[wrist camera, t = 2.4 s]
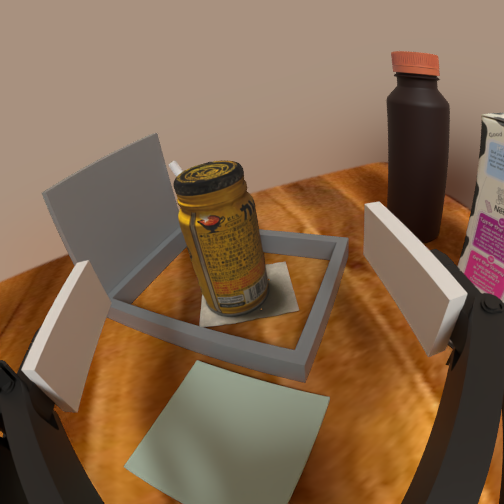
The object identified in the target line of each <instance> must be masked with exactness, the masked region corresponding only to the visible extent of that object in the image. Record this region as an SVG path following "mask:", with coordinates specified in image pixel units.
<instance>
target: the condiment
mask: <svg viewBox="0 0 504 504" xmlns="http://www.w3.org/2000/svg"><path fill="white" fill-rule="evenodd" d="M174 189H175V192H176V194H177V197H178V199H177V201H178V205H179V206H180V207H181V208H180V211H179V213H178V220H179V224H180V228H181V231H182V233H183V236H184V239H185V242H186V245H187V249H188V251H189V254H190V258H191V261H192V264H193V268H194V270H195V273H196V275H197V279H198V282H199V285H200V287H201V292H202V304H201V313H200V327H209V326H218V325H224V324H233V323H238V322H244V321H248V320H253V319H256V318H264V317H269V316H277V315H281V314H284V313H287V312H294V311H299V308H298V305H297V301H296V297H295V294H294V291H293V287H292V283H291V280H290V276H289V273H288V269H287V265H286V262H281V263H274V264H270V265H269V264H268V265H265V259H264V253H263V248H262V243H261V236H260V232H259V226H258V220H257V214H256V209H255V203H254V200H253V197H252V196H251V195H250V194H249V193H248V192H247V191H246V190H247V184H246V181H245V180H244V171H243V168H242V166H241V165H240V164H239V163H237V162H234V161H214V162H208V163H204V164H201V165H198V166H194V167H192V168H190V169H187V170H185V171H183V172H182V173H180V174H179V175H178V176H177V177H176V179H175V181H174ZM268 279H270V280H268ZM261 309H262V310H261Z"/></svg>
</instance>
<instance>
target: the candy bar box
mask: <svg viewBox="0 0 504 504" xmlns="http://www.w3.org/2000/svg"><path fill="white" fill-rule="evenodd" d="M481 117H482V129H481V146H480V154H479V163H478V171H477V181H476V187H475V194H474V198H473V204H472V209H471V214H470V219H469V223H468V228H467V232H466V237H465V242H464V245H463V249H462V252H461V256H460V260H459V263H458V268H459V269H460V271H462V272H463V273H464V274H465V275H466V276H467V278H468V279H469V280H470V281H471V282H472V283H473V284H474V285H475V287H476V288H477V289H478V290H479V291H480V292H481V293H490V294H493V295H495V296H497V297H498V298H499V299H501V300H502V302H503V303H504V113H492V114H483V115H482V116H481ZM448 345H449V346H451V347H452V348H453V349H454V345H453V344H452V342H451V341H450V340H449V342H448Z"/></svg>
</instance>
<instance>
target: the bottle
mask: <svg viewBox="0 0 504 504" xmlns="http://www.w3.org/2000/svg"><path fill="white" fill-rule="evenodd" d="M391 56H392V65H393V72H396V74H395V75H394V76H396V77H397V87H396V88H395V89H394V90H393V91H392V92H391V94H390V95H389V96H388V97H387V114H388V115H387V116H388V153H389V154H388V199H387V209H388V210H389V211H390V212H391V213H392V214H393V215H394V216H395V217H396V218H397V219H399V220H400V221H401V222H402V223H403V224H404V225H405V226H406V227H407V228H408V229H409V230H410V231H411V232H412V233H413V234H414V235H415V236H416V237H417V238H418V239H419V240H420V241H421V242H422V243H424V242H429V241H431V240H433V239H435V238H436V237H437V236H438V234H439V230H440V225H441V218H442V212H443V204H444V197H445V188H446V178H447V167H448V152H449V122H450V120H449V119H450V118H449V117H450V116H449V114H450V111H449V110H450V109H449V103H448V102H447V101H446V99H445V98H444V97H443V96H442V94H441V93H440V92H439V91H438V89H437V80H439V78H437V76H439V75H440V74H439V70H437V69H439V61H438V56H437V55H433V54H427V53H418V52H402V51H400V52H398V51H397V52H392V53H391Z"/></svg>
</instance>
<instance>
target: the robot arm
mask: <svg viewBox="0 0 504 504" xmlns="http://www.w3.org/2000/svg"><path fill="white" fill-rule="evenodd" d="M363 254H364V256H365V257H366V259H367V260H368V262H369V263H370V265H371V266H372V268H373V269H374V270H375V272H376V273H377V275H378V276H379V278H380V279H381V281H382V282H383V284H384V285H385V287H386V288H387V290H388V292H389V293H390V295H391V296H392V298H393V299H394V301H395V302H396V304H397V306H398V307H399V309H400V310H401V312H402V314H403V315H404V317H405V318H406V320H407V322H408V323H409V325H410V327H411V328H412V330H413V332H414V333H415V335H416V337H417V338H418V340H419V342H420V344H421V345H422V347H423V349H424V350H425V352H426V354H427V356H428V357H430V356H432V355H435V354H437V353H440V352H442V351H444V350H445V349H446V347H447V345H448V342H449V340H450V341H451V342H452V344H453V345H454V349H453V351H452V353H451V355H450V357H449V359H448V361H447V363H446V365H449V369H448V373H447V378H446V382H445V386H444V390H443V394H442V398H441V401H440V405H439V408H438V412H437V415H436V418H435V422H434V425H433V428H432V431H431V434H430V437H429V440H428V442H427V445H426V448H425V451H424V453H423V456H422V458H421V461H420V463H419V466H418V468H417V471H416V473H415V475H414V478H413V480H412V482H411V484H410V486H409V489H408V491H407V493H406V495H405V497H404V499H403V501H402V503H401V504H478V502H479V499H480V496H481V493H482V490H483V487H484V484H485V481H486V477H487V474H488V471H489V467H490V463H491V459H492V455H493V451H494V447H495V443H496V438H497V433H498V428H499V422H500V416H501V409H502V421H503V464H502V480H501V490H500V499H499V504H504V303H503V302H502V300H501V299H499V298H498V297H497V296H495V295H493V294H490V293H481V292H480V291H479V290H478V289H477V288H476V287H475V285H474V284H473V283H472V282H471V281H470V280H469V279H468V278H467V276H466V275H465V274H464V273H463V272H462V271H460V269H459V268H458V267H457V266H456V265H454V262H453V261H452V260H451V259H450V258H449V257H448V256H447V255H446V254H444V253H442V252H440V251H439V250H437V249H433V250H428V249H427V248H426V247H425V245H424V244H423V243H422V242H421V241H420V240H419V239H418V238H417V237H416V236H415V235H414V234H413V233H412V232H411V231H410V230H409V229H408V228H407V227H406V226H405V225H404V224H403V223H402V222H401V221H400V220H399V219H397V218H396V217H395V216H394V215H393V214H392V213H391V212H390V211H389V210H388V209H387V208H386V207H385V206H384V205H383V204H381V203H380V202H373V203H367V204H365V221H364V253H363ZM110 305H111V301H110V299H109V297H108V295H107V294H106V292H105V290H104V288H103V286H102V285H101V283H100V281H99V279H98V277H97V275H96V273H95V271H94V269H93V267H92V265H91V263H90V261H89V260H87V261H83V262H78V263H77V264H76V265H75V267H74V268H73V270H72V272H71V273H70V275H69V277H68V278H67V280H66V282H65V284H64V285H63V287H62V289H61V291H60V292H59V294H58V296H57V298H56V299H55V301H54V303H53V305H52V307H51V309H50V311H49V312H48V314H47V316H46V318H45V320H44V322H43V324H42V325H41V327H40V328H39V329H38V330H37V331H36V333H35V335H34V337H33V339H32V343H30V345H29V348H28V349H29V350H27V352H26V354H25V356H24V359H23V361H22V363H21V365H20V368H19V370H18V372H17V374H16V373H15V372H14V371H13V370H12V369H11V368H10V367H9V365H8V364H7V363H6V362H5V361H3V360H0V431H1V432H2V433H3V438H2V437H0V504H104V502H103V501H102V499H101V498H100V496H99V494H98V493H97V491H96V489H95V488H94V486H93V484H92V483H91V481H90V479H89V478H88V476H87V474H86V472H85V470H84V469H83V467H82V465H81V463H80V461H79V459H78V457H77V455H76V453H75V451H74V449H73V447H72V445H71V443H70V441H69V439H68V437H67V434H66V432H65V430H64V428H63V425H62V423H61V421H60V418H59V416H58V414H57V413H56V412H55V411H54V410H53V409H54V405H55V404H56V405H57V406H58V407H59V408H60V409H62V410H63V411H65V412H78V408H79V404H80V400H81V396H82V392H83V389H84V385H85V381H86V378H87V375H88V371H89V368H90V364H91V361H92V358H93V355H94V352H95V349H96V345H97V342H98V339H99V336H100V333H101V331H102V328H103V325H104V322H105V319H106V316H107V314H108V311H109V308H110ZM449 363H450V364H449Z"/></svg>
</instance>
